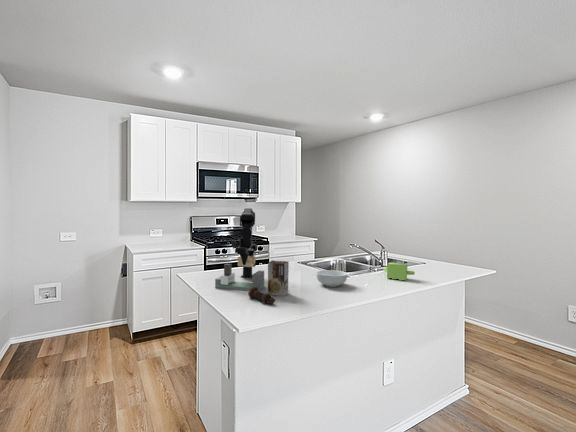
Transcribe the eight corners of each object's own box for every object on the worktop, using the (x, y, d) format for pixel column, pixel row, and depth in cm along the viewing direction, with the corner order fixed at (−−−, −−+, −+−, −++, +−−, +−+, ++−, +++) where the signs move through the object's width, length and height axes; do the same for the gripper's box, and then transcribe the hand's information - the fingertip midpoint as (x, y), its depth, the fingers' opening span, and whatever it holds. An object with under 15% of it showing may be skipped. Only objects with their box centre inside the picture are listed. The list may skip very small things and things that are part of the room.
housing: (241, 264, 186) (241, 255, 185) (254, 265, 184) (255, 256, 184) (237, 266, 180) (237, 257, 180) (251, 267, 178) (251, 258, 178)
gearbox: (415, 279, 200) (416, 264, 200) (413, 282, 191) (414, 266, 191) (385, 275, 208) (386, 261, 208) (381, 278, 199) (382, 262, 199)
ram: (227, 280, 181) (227, 262, 181) (234, 280, 180) (234, 263, 180) (220, 284, 172) (220, 265, 172) (227, 284, 171) (227, 266, 171)
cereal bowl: (350, 283, 186) (350, 271, 185) (342, 290, 171) (342, 277, 170) (322, 280, 193) (322, 268, 192) (312, 286, 178) (312, 273, 177)
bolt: (271, 309, 145) (251, 300, 156) (278, 302, 148) (258, 293, 159) (266, 299, 143) (246, 291, 154) (274, 292, 146) (254, 284, 157)
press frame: (223, 282, 182) (223, 267, 182) (264, 286, 177) (264, 270, 176) (215, 287, 173) (215, 271, 172) (257, 291, 167) (258, 274, 167)
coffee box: (288, 292, 165) (289, 261, 164) (284, 296, 159) (284, 263, 158) (272, 291, 168) (272, 260, 167) (267, 294, 162) (267, 262, 161)
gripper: (240, 233, 192) (240, 260, 193) (226, 237, 174) (225, 265, 175) (258, 234, 189) (257, 261, 190) (245, 237, 171) (245, 267, 172)
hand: (246, 263), depth 182 cm, fingers closed on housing, 6 cm apart
